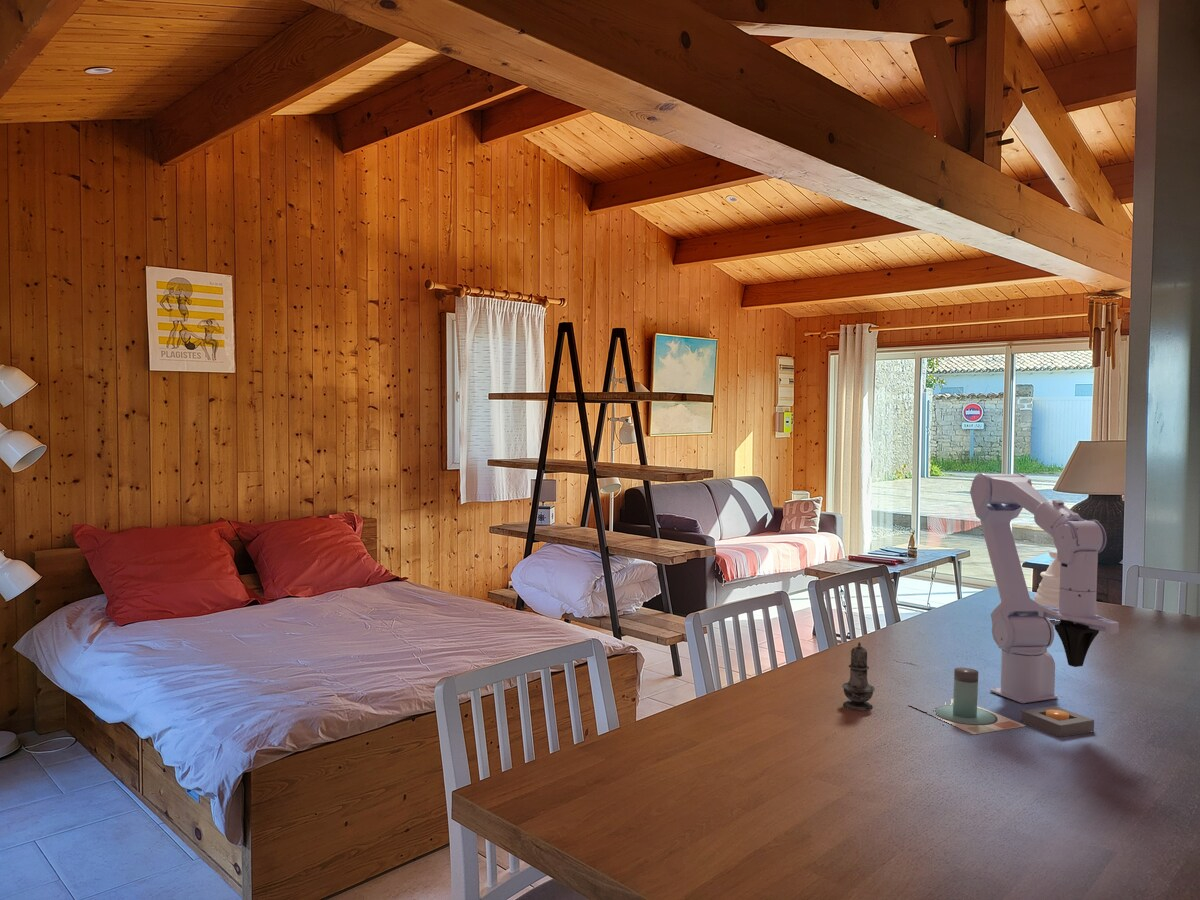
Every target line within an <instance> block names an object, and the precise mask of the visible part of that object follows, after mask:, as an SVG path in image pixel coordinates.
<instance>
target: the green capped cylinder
mask: <svg viewBox="0 0 1200 900" xmlns="http://www.w3.org/2000/svg"><path fill="white" fill-rule="evenodd" d="M953 671H954V672H953V673H954V674H953V698H952V699H953V714H954V715H956V716H958V717H962V718H976V717H977V706H978V693H979V671H978V670H976V669H973V668H969V667H955V668H954V670H953Z"/></svg>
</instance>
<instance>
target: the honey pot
mask: <svg viewBox="0 0 1200 900" xmlns="http://www.w3.org/2000/svg"><path fill="white" fill-rule="evenodd" d="M1048 551H1049V552H1048V554H1049V556H1050V558H1052V559H1053V560H1052V562H1050V564H1049V566H1048V567H1047V569H1046V570H1045V571H1041V572H1040V574H1039V575H1040V576H1041V578H1042V579H1041V581H1040V583H1039V584H1038V588H1037V590H1036V593H1035V594H1034V597H1033V599H1034V600H1033V601H1035V602H1036V603H1038V604H1039V605H1041V606H1042V605H1048V606H1053V607H1059V591H1060V562H1059V561H1058V558H1057V550H1048ZM1049 619H1052V618H1049Z"/></svg>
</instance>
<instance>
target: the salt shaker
mask: <svg viewBox="0 0 1200 900" xmlns="http://www.w3.org/2000/svg"><path fill="white" fill-rule="evenodd" d="M861 645H862V644H861V642H860V641H858V643H857V645H856V646H854V647H853V648H851V651H850V664H848V668H850V672H849V680H848V682H845V683H844V682H843V684H842V685H841V687H842V689H843V693H844V696H845V697H846V698H847V700H846V701H844V702H843V707H845V708H846V709H849V710H852V711H858V710H861V711H862V710H863V711H864V710H867V711H871V710H872V709H873V707H874V706H873V704H871V703H870V702H868V701H870V700H871V699H872V697H873V695H874V692H875V689H876V688H875V687H874V686H873V685H872V684H870V683H869V681H868V670H869V669H870V666H868V651H867V649H866V648H864V647H863V646H861ZM870 709H871V710H870ZM861 711H860V712H861ZM863 711H862V712H863Z"/></svg>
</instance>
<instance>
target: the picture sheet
mask: <svg viewBox="0 0 1200 900" xmlns="http://www.w3.org/2000/svg"><path fill="white" fill-rule="evenodd" d="M950 699H951V704H950V705H946V702H945V705H943V706H941V707H940V706H938V708H937V707H936V708H935V709H936V710H935V712H936V714H935V715H937V714H938V715H937V716H938V717H939V718H938V720H939V719H940V718H941V720H940V721H942V722H944V721H945V722H944V723H946V722H947V723H946V724H948V723H949V725H951V724H952V725H951V726H953V727H955V726H956V727H955V728H957V727H958V728H957V729H960V730H963V732H964V731H965V732H966V733H968V734H971V735H979V734H986V733H991V732H998V731H1004V730H1010V729H1017V728H1022V727H1027V724H1025V723H1024V724H1023V723H1022V722H1018V721H1016V720H1013V719H1011V718H1008V717H1006V716H1004V715H1001V714H999V713H996V712H994V711H991V710H988V709H986V708H983V707H982V706H981V707H980V706H978V705H977V717H976V718H962V717H958V716H956V715H954V714H953V705H952V703H953V698H950ZM939 708H940V709H939ZM933 712H934V709H933ZM935 719H937V717H936V718H935ZM942 719H943V720H942Z"/></svg>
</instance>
